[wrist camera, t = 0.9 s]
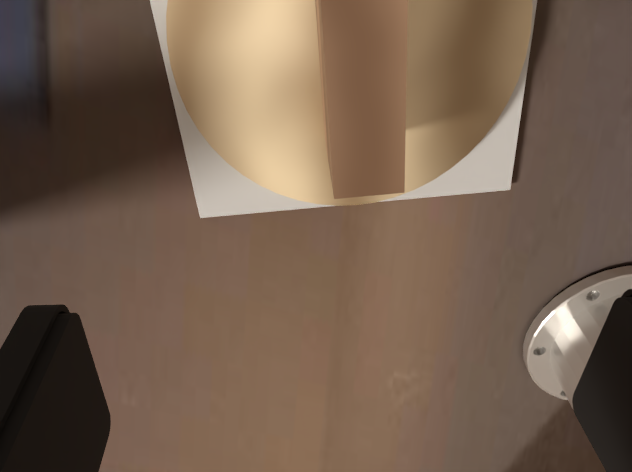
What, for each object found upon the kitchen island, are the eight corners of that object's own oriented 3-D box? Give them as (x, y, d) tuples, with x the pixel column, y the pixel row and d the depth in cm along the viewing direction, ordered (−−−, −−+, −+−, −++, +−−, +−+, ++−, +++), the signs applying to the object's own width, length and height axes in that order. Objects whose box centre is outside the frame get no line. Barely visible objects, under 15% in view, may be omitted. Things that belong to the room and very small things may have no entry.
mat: (561, -210, 22) (567, -212, 21) (506, 184, 32) (510, 189, 31) (114, -169, 22) (110, -170, 21) (201, 212, 32) (200, 217, 31)
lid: (552, -195, 21) (651, -220, 16) (502, 182, 31) (552, 254, 25) (126, -156, 21) (68, -167, 16) (207, 209, 31) (189, 286, 25)
